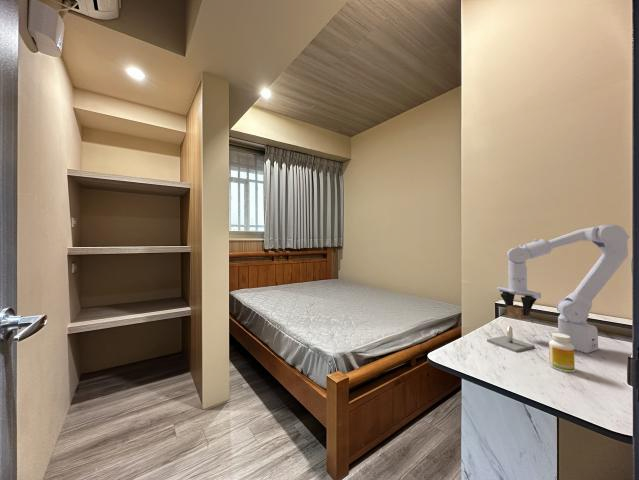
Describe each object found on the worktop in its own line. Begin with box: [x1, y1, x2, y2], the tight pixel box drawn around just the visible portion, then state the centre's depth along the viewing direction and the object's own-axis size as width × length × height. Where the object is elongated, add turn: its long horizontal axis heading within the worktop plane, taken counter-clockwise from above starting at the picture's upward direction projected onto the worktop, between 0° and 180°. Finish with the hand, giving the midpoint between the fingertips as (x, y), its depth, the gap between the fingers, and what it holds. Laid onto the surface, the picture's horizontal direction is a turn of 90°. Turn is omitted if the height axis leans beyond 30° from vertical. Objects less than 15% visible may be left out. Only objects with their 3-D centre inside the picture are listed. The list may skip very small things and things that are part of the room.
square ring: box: [506, 304, 531, 321], centre depth 98 cm, size 5×5×4 cm
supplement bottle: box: [548, 332, 576, 373], centre depth 74 cm, size 5×5×10 cm
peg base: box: [486, 325, 536, 353], centre depth 92 cm, size 10×10×7 cm
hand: (518, 313), depth 98 cm, fingers closed on square ring, 5 cm apart
